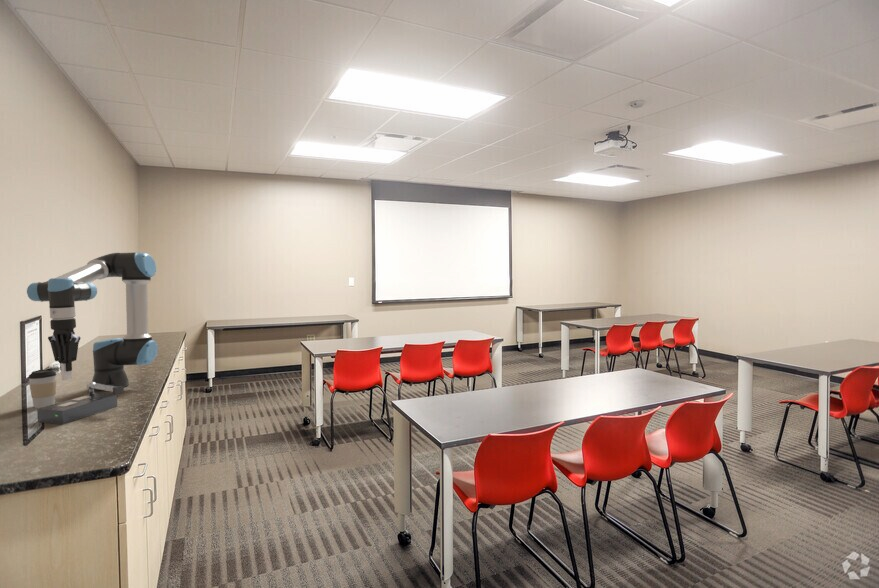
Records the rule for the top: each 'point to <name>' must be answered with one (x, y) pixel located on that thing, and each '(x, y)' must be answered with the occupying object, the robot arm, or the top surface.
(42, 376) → the coffee cup
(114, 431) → the top surface
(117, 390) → the grey long bar
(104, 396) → the lever switch
